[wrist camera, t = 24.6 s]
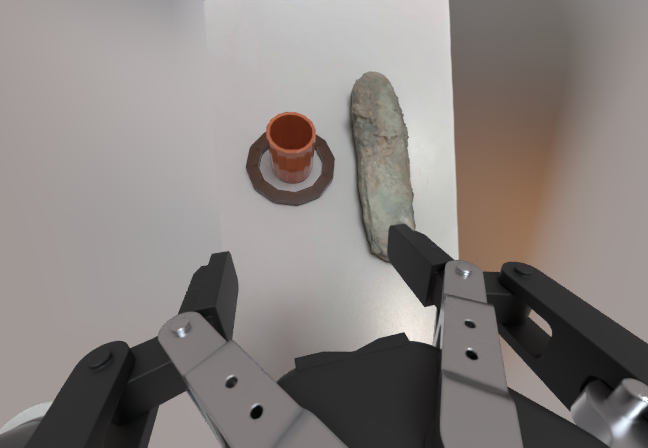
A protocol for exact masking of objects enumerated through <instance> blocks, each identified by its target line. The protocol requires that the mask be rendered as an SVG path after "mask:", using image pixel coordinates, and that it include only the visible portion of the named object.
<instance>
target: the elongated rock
mask: <svg viewBox="0 0 648 448" xmlns="http://www.w3.org/2000/svg"><path fill="white" fill-rule="evenodd" d="M351 99H352V106H351V112H352V113H351V114H352V115H351V117H352V120H353V126H352V128H353V133H354V137H355V138H354V139H355V140H356V143H355V147H356V154H357V160H358V176H359V183H358V188H359V192H360V200H361V203H362V207H363V219H364V224H365V225H366V232H367V234H368V240H369V242H370V243H371V252H372V253H374V254H377V256H379V257H380V258H382V259H383V260H385V261H388V262H390V261H389V259H388V255H387V245H388V230H389V227H390V226H391V225H396V224H403V223H405V224H407V225H408V226H409V227H410V228H411V229H412V230H413V231H415V226H416V225H415V221H414V211H413V206H412V202H413V196H414V195H413V192H412V187H411V182H410V166H409V164H410V160H409V157H408V150H407V146H408V142H407V139H408V138H409V136H408V132H407V127H405V126H406V124H405V123H404V120H403V115H404V114H402V110H401V108H400V107H399V103H398V97H397V96H396V95H395V92H394V89H393V87H392V85H391V83H390V82H389V80H388V79H387V78H386V77H385V76H384V75H382V74H380V73H378V72H367V73H365V74H363V76H362V77H361V78H360V79H359V80H358V79H357V80H356V83H355V84H354V86H353V90H352V92H351Z"/></svg>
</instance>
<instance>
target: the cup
mask: <svg viewBox="0 0 648 448" xmlns="http://www.w3.org/2000/svg"><path fill="white" fill-rule="evenodd" d="M266 136H267V142H268V147H269V153H270V159H271V164H272V168H273V171H274V174H275V175H276V176H277V177H278V178H279V179H280V180H282V181H284V182H287V183H298V182H301V181H303V180H305V179H306V178H307V177H308V176H309V175H310V173H311V170H312V165H313V156H314V147H315V138H316V131H315V127H314V125H313V123H312V122H311V121H310V120H309V119H308V118H307V117H306V116H304V115H301V114H299V113H296V112H285V113H281V114H278V115H276V116H275V117H274V118H272V119H271V120H270V122H269V124H268V126H267V130H266Z"/></svg>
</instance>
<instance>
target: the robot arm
mask: <svg viewBox="0 0 648 448" xmlns="http://www.w3.org/2000/svg"><path fill="white" fill-rule="evenodd" d="M387 255H388V259H389V261H390V263H391V264H392V265H393V267H394V268H395V269H396V271H397V272H398V273H399V274H400V276H401V277H402V278H403V280H404V281H405V282H406V284H407V285H408V286H409V287H410V289H411V290H412V291H413V293H414V294H415V295H416V297H417V298H418V299H419V301H420V302H421V303H422V304H423V306H424V307H427V306H432V305H435V306H436V307H437V309H436V314H435V324H434V335H433V345H429V344H426V343H421V342H415V341H409V339H408V338H407V336H406V334H405V333H399V334H395V335H391V336H387V337H383V338H379V339H377V340H375V341H373V342H371V343H369V344H367V345H366V346H364V347H362V348H360V349H358V350H356V351H353V352H319V353H315V354H311V355H307V356H303V357H298V358H295V365H296V368H295V369H293V370H291V371H290V372H288V373H287V374H285V375H284V376H283V377H282V378H280V379H279V380H278V381H277V382H275V381H274V380H273V379H272V378H271V377H270V376H269V375H268V374H267V373H266V372H265V371H264V370H263V369H262V368H261V367H260V366H259V365H258V364H257V363H256V362H255V361H254V360H253V359H252V358H251V357H250V356H249V355H248V354H247V353H246V352H245V351H244V350H243V349H242V348H241V347H240V346H239V345H238V344H237V343H236V342H235V341H233V340H232V336H233V328H234V320H235V312H236V304H237V297H238V279H237V275H236V271H235V268H234V264H233V261H232V257H231V254H230V252H229V251H227V252H220V253H214V254H212V255H211V258H210V261H209V264H208V265H207V266H201V267H200V268H199V269H198V270H197V271H196V272H195V273H194V274H193V277H192V280H191V282H190V283H191V284H190V285H189V288H188V291H187V292H186V295H185V297H184V300H183V303H182V305H181V308H180V310H179V313H178V315H176V316H175V317H173V318H172V319H170V320H169V321H167V322H166V323H165V324H164V325H163V326H162V328H161V329H160V331H159V333H158V336H157V337H155V338H153V339H151V340H148V341H146V342H144V343H141V344H139V345H137V346H134V347H132V348H129V346H128V344H127V343H125V342H123V341H114V342H110V343H107V344H104V345H102V346H100V347H98V348H96V349H94V350H93V351H91V352H90V353H89V354H87V355H86V356H85V357H84V358H83V359H81V360H80V362H79V363H78V364H77V365H76V367H75V368H74V369H73V371H72V373H71V374H70V376H69V377H68V379H67V381H66V382H65V384H64V385H63V387H62V388H61V390H60V392H59V393H58V395H57V396H56V398H55V400H54V401H53V403H52V404H51V406H50V407H49V409H48V411H47V412H46V414H45V415H44V416H40V417H37V418H34V419H32V420H30V421H27V422H25V423H23V424H20V425H19V426H17V427H15V428H13V429H11V430H9V431H6V432H4V433H2V434H0V448H147V447H148V443H149V440H150V436H151V433H152V429H153V425H154V422H155V419H156V415H157V412H158V408H159V405H161V404H162V403H164V402H166V401H168V400H170V399H172V398H174V397H175V396H177V395H179V394H181V393H183V392H185V391H187V393H188V394H189V396H190V397H191V399H192V400H193V402H194V403H195V405H196V407H197V408H198V410H199V411H200V412H201V414H202V416H203V417H204V419H205V421H206V422H207V424H208V425H209V427H210V428H211V430H212V431H213V433H214V435H215V437H216V438H217V440H218V442H219V443H220V445H221V447H222V448H648V344H647V343H646V342H644V341H643V340H641V339H640V338H638V337H637V336H635V335H634V334H632V333H631V332H630V331H628V330H627V329H625V328H623V327H622V326H621V325H619V324H618V323H616V322H615V321H613V320H612V319H610V318H609V317H607V316H606V315H604V314H603V313H601V312H600V311H599V310H597V309H595V308H594V307H592V306H591V305H590V304H588V303H587V302H585V301H583V300H582V299H581V298H579V297H578V296H576V295H575V294H573V293H572V292H570V291H569V290H567V289H566V288H565V287H563V286H561V285H560V284H558V283H557V282H556V281H554V280H553V279H551V278H550V277H548V276H547V275H545V274H544V273H542V272H541V271H539V270H537V269H536V268H534V267H532V266H530V265H527V264H524V263H519V262H507V263H504V264H503V265H502V268H501V271H500V272H482V270H481V269H480V268H479V267H478V266H476V265H474V264H472V263H470V262H467V261H462V260H454V259H453V258H451V257H450V256H449V255H448V254H447V253H446V252H444V251H443V250H442V249H441V248H440V247H439V246H437V245H436V244H435V243H434V242H432V241H431V240H430V239H429V238H428V237H427V236H426V235H424V234H422V233H420V232H417V231H413V230H412V229H411V228H410V227H409V226H408V225H407V224H405V223H403V224H396V225H391V226H390V227H389V230H388V245H387ZM531 309H533V310H534V311H535V312H536V313H537V314H538V315H540V316H541V317H542V318H543V319H544V320H545V321H547V323H548V324H549V325H550V327H551V329H552V337H550V336H549V335H548V334H547V333H546V332H545V331H544V330H542V329H541V328H540V327H539V326H538V325H537V324H536V323H535V322H534V321H532V320H531V319H530V318H529V317H528V316H529V314H530V311H531ZM498 333H499V334H500V335H501V337H502V338H503V339H504V340H505V341H506V342H507V343H508V344H509V345H510V346H511V347H512V349H513V350H514V351H515V352H516V353H517V354H518V355H519V356H520V357H521V358H522V359H523V361H524V362H525V363H526V364H527V365H528V366H529V367H530V368H531V369H532V370H533V371H534V373H535V374H536V375H537V376H538V377H539V378H540V379H541V380H542V381H543V382H544V383H545V385H546V386H547V387H548V388H549V389H550V390H551V391H552V392H553V393H554V394H555V396H556V397H557V398H558V399H559V400H560V401H561V402H562V403H563V404H564V405H565V406H566V407H567V409H568V410H569V411H570V412H571V416H572V419H573V421H574V423H575V424H576V425H575V424H573V423H571V422H570V421H568V420H566V419H564V418H562V417H560V416H559V415H557V414H555V413H553V412H552V411H550V410H548V409H546V408H545V407H543V406H541V405H539V404H537V403H536V402H534V401H532V400H530V399H529V398H527V397H525V396H523V395H521V394H519V393H518V392H516V391H514V390H513V389H511V388H509V387H507V382H506V376H505V370H504V364H503V358H502V352H501V346H500V340H499V334H498Z"/></svg>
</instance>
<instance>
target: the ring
mask: <svg viewBox="0 0 648 448" xmlns="http://www.w3.org/2000/svg"><path fill="white" fill-rule="evenodd" d="M268 148H269V147H268V142H267V136H266V132H265V133H264V134H263V135H262V136H261V137H260V138H259V139H258V140H257V141H256V142H255V143H254V144H253V145H252V146H251V147H250V150H249V155H248V159H247V164H246V169H247V171H248V174H249V176H250V179H251V181H252V183H253V186H254V188H255V189H256V191H258V192H259V193H261V194H262V195H263V196H265V197H266V198H268V199H269V200H270V201H272V202H273V203H278V204H286V205H295V206H297V205H298V206H299V205H301V204H304V203H306V202H309V201H312V200H314V199H317V198H319V197H320V196H321V194H322V193H323V192H324V191H325V189H326V188H327V187H328V186H329V184H330V183H331V182H332V179H333V171H334V160H335V159H334V156H333V155H332V153H331V151H330V149H329V147H328V145H327V143H326V141H325V140H324V139H322V138H321V137H319V136H318V135H316V138H315V147H314V149H315V150H317V152H318V154H319V156H320V158H321V160H322V162H323V167H322V175H321V176H320V177H319V178H318V180H317V181H316V182H315V183H314V185H313V186H311V187H309V188H306V189H303V190H300V191H298V192H290V191H282V190H277V189H276V188H275V187H273V186H272V185H270V184H269V183H268V182H266V181H265V180H264V179H263V176H262V174H261V172H260V169H259V166H260V161H261V156H262V154H263V153H264V152H265V151H266V150H267V149H268Z"/></svg>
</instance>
